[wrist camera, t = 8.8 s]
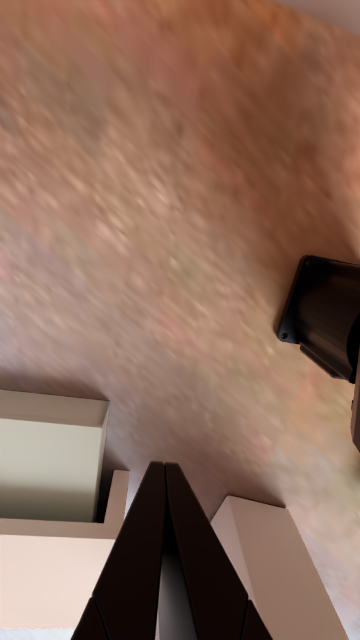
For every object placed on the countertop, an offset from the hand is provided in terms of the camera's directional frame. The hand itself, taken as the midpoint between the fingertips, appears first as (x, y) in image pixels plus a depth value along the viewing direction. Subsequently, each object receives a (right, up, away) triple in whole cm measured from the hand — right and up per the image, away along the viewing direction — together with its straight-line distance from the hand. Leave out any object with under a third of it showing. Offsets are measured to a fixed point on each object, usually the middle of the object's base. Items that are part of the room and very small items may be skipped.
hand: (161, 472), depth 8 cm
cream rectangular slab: (-11, -9, +15) cm, 21 cm away
